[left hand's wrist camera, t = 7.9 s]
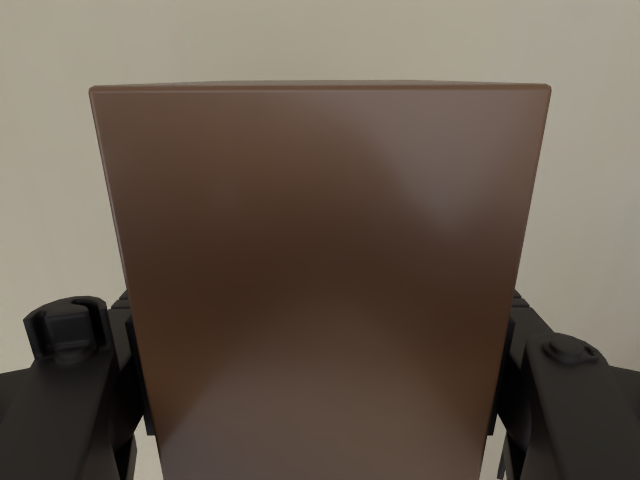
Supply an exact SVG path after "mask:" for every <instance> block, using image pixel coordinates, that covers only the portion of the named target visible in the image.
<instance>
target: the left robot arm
mask: <svg viewBox="0 0 640 480" xmlns="http://www.w3.org/2000/svg"><path fill="white" fill-rule="evenodd" d="M23 322H24V325H25V329H26V332H27V335H28V339H29V342H30V345H31V348H32V352H33V355H34V358H35V360H34V362H33V363H32V365H31V367H30V368H27V369H22V370H17V371H12V372H7V373H1V374H0V480H133V477H134V470H135V462H136V455H137V447H136V440H135V436H134V431H135V429H136V427H137V425H138V423H139V421H140V420H141V418H142V416H144V421H145V426H146V431H147V435H155V432H154V427H153V422H152V417H151V412H150V406H149V401H148V396H147V391H146V386H145V381H144V376H143V370H142V365H141V360H140V355H139V350H138V345H137V340H136V334H135V329H134V324H133V319H132V314H131V309H130V303H129V298H128V293H127V290H126V291H125V292H124V293H123V294H122V295H121V296H120V297H119V300H117V301H116V302H115V303H114V304H113V305H112V306H111V309H109V310H108V311H107V306H106V302H105V301H103V300H102V299H100V298H97V297H92V296H74V297H69V298H65V299H60V300H56V301H54V302H51V303H48V304H45V305H43V306H41V307H39V308H37V309H36V310H34V311H32V312H31V313H29V314H28V315H27V316H26V317H25V318H24V319H23ZM497 413H498V415H499V417H500V419H501V421H502V423H503V424H504V426H505V428H506V430H507V431H506V436H505V440H504V445H503V450H502V454H501V459H500V463H499V468H498V474H497V479H501V480H503V477H504V473H505V470H506V476H507V480H640V372H639V371H633V370H628V369H623V368H618V367H613V366H609V364H608V363H607V361H606V359H605V358H604V357H603V355H602V354H601V353H600V352H599V351H598V350H597V349H596V348H594V347H593V346H591V345H590V344H588V343H586V342H584V341H582V340H580V339H577V338H575V337H572V336H569V335H565V334H560V333H555V332H553V330H552V329H551V328H550V327H549V326H548V325H547V324H546V323H545V322H544V321H543V319H542V318H541V317H540V316H539V315H538V314H537V313H536V312H535V311H534V310H533V309H532V308H530V305H529V304H528V303H527V302H526V301H525V300H524V299H523V298H521V295H520V294H519V293H518V292H517V291H516V290H515V289H514V295H513V300H512V305H511V311H510V316H509V322H508V327H507V332H506V338H505V343H504V348H503V354H502V359H501V364H500V370H499V375H498V381H497V386H496V391H495V397H494V402H493V407H492V413H491V418H490V423H489V429H488V434H487V435H493V433H494V428H495V423H496V418H497Z"/></svg>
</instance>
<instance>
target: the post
mask: <svg viewBox="0 0 640 480" xmlns="http://www.w3.org/2000/svg"><path fill="white" fill-rule="evenodd" d="M550 96H551V86H549V85H547V84H534V83H498V82H462V81H426V80H304V81H211V82H183V83H156V84H129V85H101V86H93V87H91V88H90V89H89V98H90V103H91V108H92V113H93V118H94V123H95V128H96V134H97V139H98V144H99V149H100V154H101V159H102V164H103V170H104V175H105V180H106V185H107V190H108V195H109V200H110V206H111V211H112V216H113V221H114V226H115V231H116V237H117V242H118V247H119V252H120V257H121V262H122V267H123V273H124V278H125V283H126V288H127V293H128V298H129V303H130V309H131V314H132V319H133V324H134V329H135V334H136V340H137V345H138V350H139V355H140V360H141V365H142V370H143V376H144V381H145V386H146V391H147V396H148V401H149V406H150V412H151V417H152V422H153V427H154V432H155V437H156V442H157V448H158V453H159V458H160V463H161V468H162V473H163V479H164V480H479V477H480V472H481V466H482V461H483V456H484V450H485V445H486V440H487V434H488V429H489V423H490V418H491V413H492V407H493V402H494V397H495V391H496V386H497V381H498V375H499V370H500V364H501V359H502V354H503V348H504V343H505V338H506V332H507V327H508V322H509V316H510V311H511V305H512V300H513V295H514V289H515V284H516V279H517V273H518V268H519V263H520V257H521V252H522V247H523V241H524V236H525V230H526V225H527V220H528V214H529V209H530V204H531V198H532V193H533V188H534V182H535V177H536V171H537V166H538V161H539V155H540V150H541V145H542V139H543V134H544V129H545V123H546V118H547V113H548V107H549V102H550Z"/></svg>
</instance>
